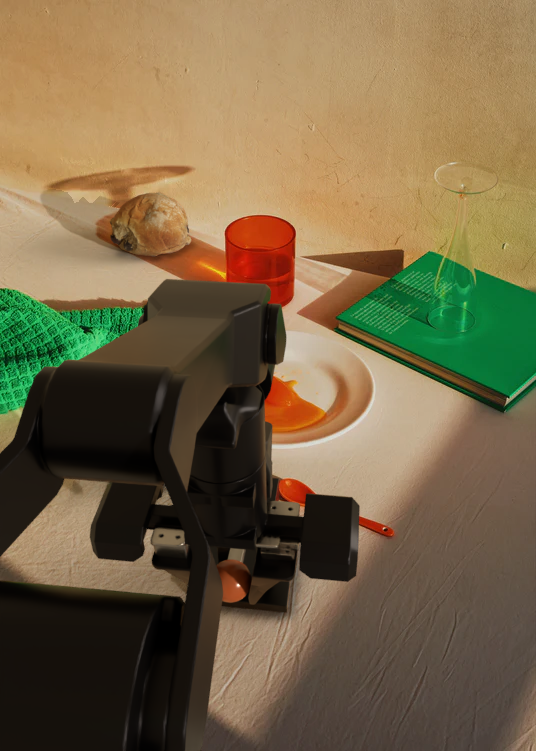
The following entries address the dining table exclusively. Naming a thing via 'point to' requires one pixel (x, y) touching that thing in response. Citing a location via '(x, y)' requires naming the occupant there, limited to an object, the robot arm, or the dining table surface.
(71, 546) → the dining table surface
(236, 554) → the lever
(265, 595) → the bracket
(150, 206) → the bread roll
